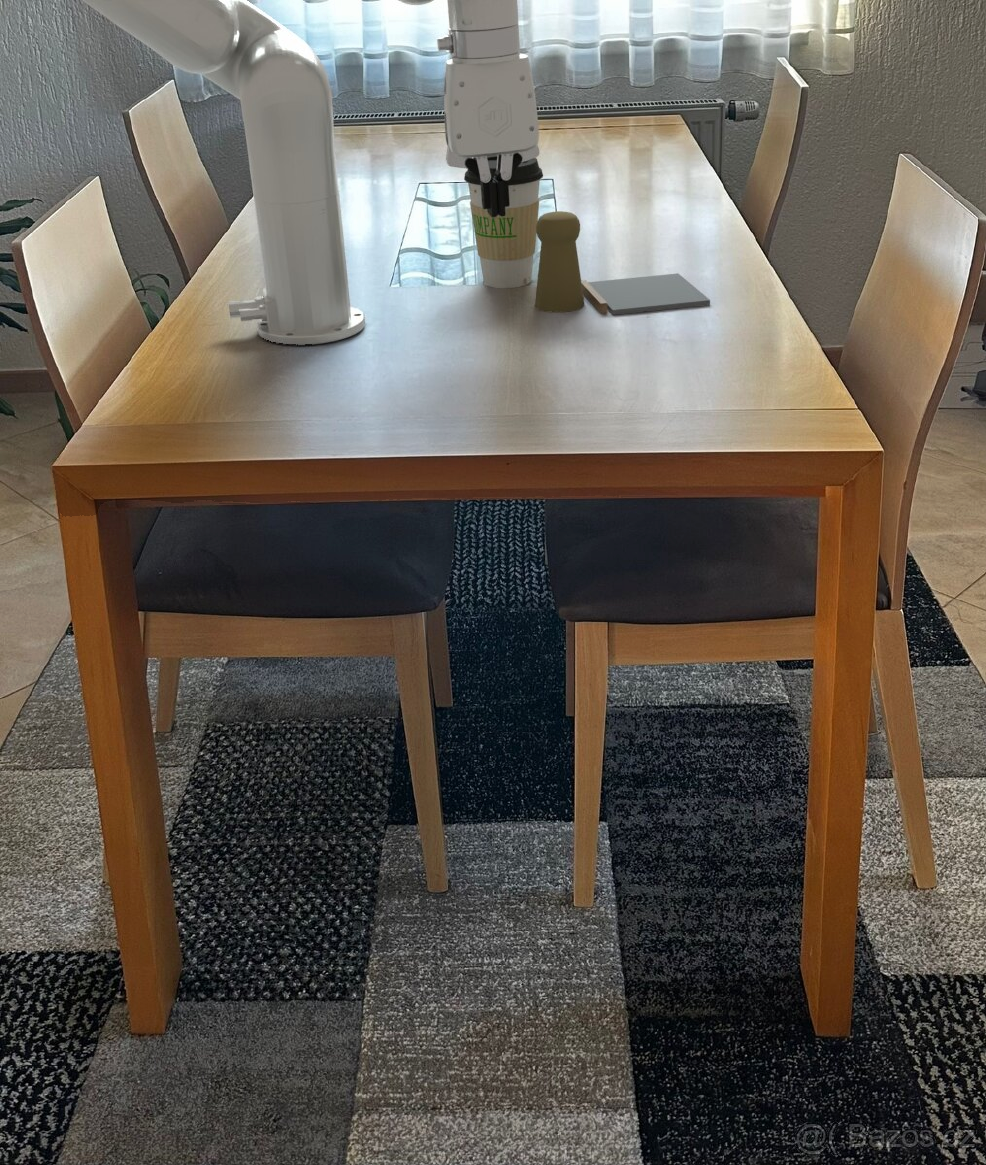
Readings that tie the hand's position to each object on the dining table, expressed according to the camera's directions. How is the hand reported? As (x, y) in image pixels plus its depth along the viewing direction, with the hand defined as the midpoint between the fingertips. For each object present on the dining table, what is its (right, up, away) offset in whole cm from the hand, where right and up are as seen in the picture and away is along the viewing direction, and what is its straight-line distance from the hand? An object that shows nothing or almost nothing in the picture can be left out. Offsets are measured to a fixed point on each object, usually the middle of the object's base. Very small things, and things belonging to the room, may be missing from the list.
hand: (496, 213), depth 150 cm
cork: (+8, -9, +7) cm, 14 cm away
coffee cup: (+2, -4, +17) cm, 17 cm away
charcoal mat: (+19, -8, +8) cm, 22 cm away
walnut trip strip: (+12, -9, +7) cm, 16 cm away
